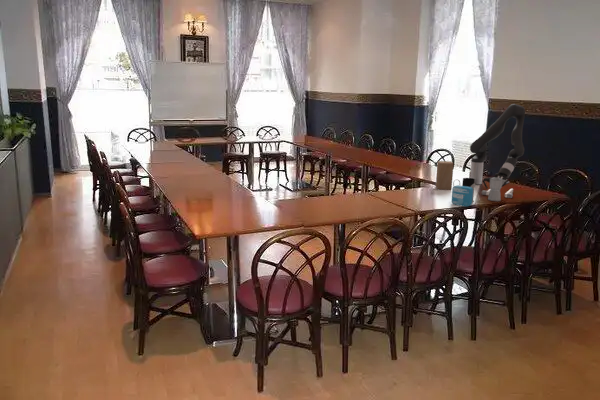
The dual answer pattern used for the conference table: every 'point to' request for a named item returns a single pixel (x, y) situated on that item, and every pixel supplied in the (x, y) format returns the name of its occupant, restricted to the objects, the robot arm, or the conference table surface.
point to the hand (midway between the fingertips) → (494, 190)
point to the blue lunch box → (468, 184)
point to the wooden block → (444, 175)
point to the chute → (507, 194)
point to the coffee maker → (494, 187)
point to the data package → (462, 195)
